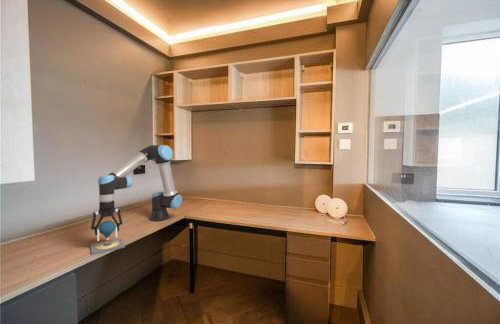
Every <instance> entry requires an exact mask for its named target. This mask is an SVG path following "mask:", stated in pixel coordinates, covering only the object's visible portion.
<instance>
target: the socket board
mask: <svg viewBox="0 0 500 324" xmlns="http://www.w3.org/2000/svg"><path fill="white" fill-rule="evenodd" d="M123 248H126V245H125V243H124V241H123V239H122V238H121V237H120V238H115V239H109V240H108V241H107V240H105V241H98V242H95V243H91V244H90V250H91V256H94V255H97V254H102V253H107V252H112V251H115V250H120V249H123Z"/></svg>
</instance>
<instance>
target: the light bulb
mask: <svg viewBox="0 0 500 324" xmlns="http://www.w3.org/2000/svg"><path fill="white" fill-rule="evenodd" d="M115 226H116V223H115V222H114V220H113V221H112V220H109V219H108V220H104V221H101V223H100V225H99V227H98V228H99V234H102V235H103V236H104V238H105V241H109V240H110V236H111V234H112V233H113V232H115Z"/></svg>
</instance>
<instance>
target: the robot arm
mask: <svg viewBox="0 0 500 324" xmlns="http://www.w3.org/2000/svg"><path fill="white" fill-rule="evenodd" d="M173 156H174V151H173V149H172V148H171V146H169V145H166V144H155V145H154V144H152V145H148V146H146V147H144V148H142V149H140V150H139V151H138V152H137V153H136V154H135V155H134V156H133V157H131V158H130V159H129V160H127V161H125V163H123V164H122V165H120V166H119V167H118V168H116V169H115V170H113V171H111V172H110V173H109V174H103V175H100V176H99V177H98V179H97V184H98V201H99V203H98V204H99V206H98V207H99V208H98V210H97V211H93V212H92V216H93V217H92V221H91V225H90V229H91V230H94V235H95V236H96V240H97V241H96V242H100V232H99V226H100V224H101V223H102V222H103V219H104V218H106V217H111V218H112V220H113V222H114V223H115V230H114V234H115V235H114V236H115V238H118V232H119V231H120V226H121V225H123V224H124V223H123V218H122V215H121V208H115V191H117V190H123V189H124V190H125V189H128V188H131V187H133V183H134V182H133V179H132V177H130V176H128V175H129V174H130V173H132V172H133V171H134V170H135V169H136V170H137V168H138V167H140V166H141V165H142V164H144V163H147V162H149V161H152V160H153V161H154V162H155V164H156V165H157V166H158V171H159V174H160V178H161V184H162V188H163V191H157V192H153V193H152V195H151V213H150V216H149V221H152V222H162V221H165V220H168V219H169V218H170V215H169V212H168V209H173V210H175V209H178V208H180V206H181V205H182V202H183V196H182V195H181V194H179V192H178V190H176V188H175V182H174V177H173V172H172V168H171V162H172V158H173ZM114 212H116V214H117V217H118V220H117V219H116V217H115V216H114ZM98 214H99V215H100V217H99V219H98V221H97V223H96V219H97V216H98ZM95 224H96V225H95Z"/></svg>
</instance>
